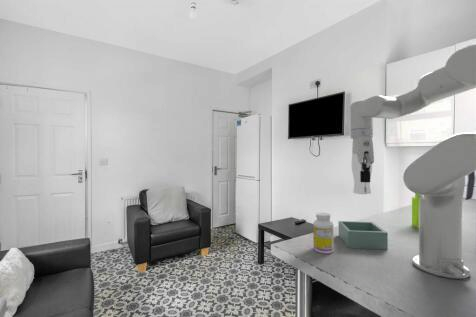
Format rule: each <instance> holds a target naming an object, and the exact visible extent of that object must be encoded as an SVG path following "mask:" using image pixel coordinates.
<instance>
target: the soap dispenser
mask: <svg viewBox="0 0 476 317" xmlns="http://www.w3.org/2000/svg"><path fill="white" fill-rule="evenodd" d="M414 195H415V196H412V197H411V226H412V227H413V228H418V229H419V201H420V195H419V194H416V193H414Z"/></svg>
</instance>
